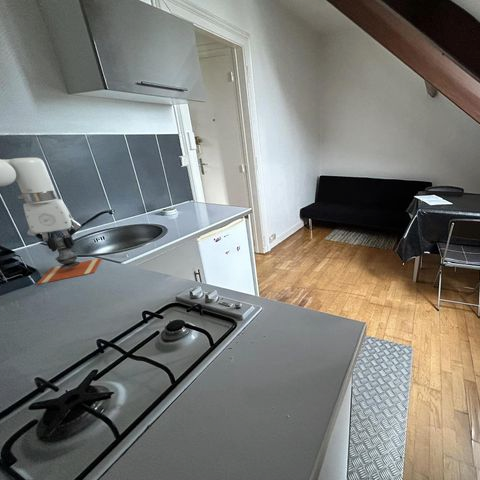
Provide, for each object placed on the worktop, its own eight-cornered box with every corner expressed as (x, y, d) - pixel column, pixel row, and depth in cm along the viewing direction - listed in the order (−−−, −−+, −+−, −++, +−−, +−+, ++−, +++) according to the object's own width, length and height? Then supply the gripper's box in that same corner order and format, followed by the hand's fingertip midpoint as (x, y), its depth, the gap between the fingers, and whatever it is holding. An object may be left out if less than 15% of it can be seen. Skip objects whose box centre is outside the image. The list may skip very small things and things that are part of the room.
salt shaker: (70, 268, 91) (57, 236, 87) (54, 269, 91) (40, 237, 87) (85, 261, 97) (73, 230, 92) (69, 261, 97) (56, 231, 92)
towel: (36, 284, 86) (36, 283, 85) (51, 268, 97) (51, 267, 97) (94, 273, 92) (93, 271, 92) (102, 259, 104) (101, 258, 104)
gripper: (-1, 202, 78) (26, 258, 85) (71, 195, 86) (90, 247, 92) (11, 198, 84) (35, 250, 91) (77, 192, 92) (95, 240, 98)
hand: (63, 248), depth 91 cm, fingers closed on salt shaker, 3 cm apart
